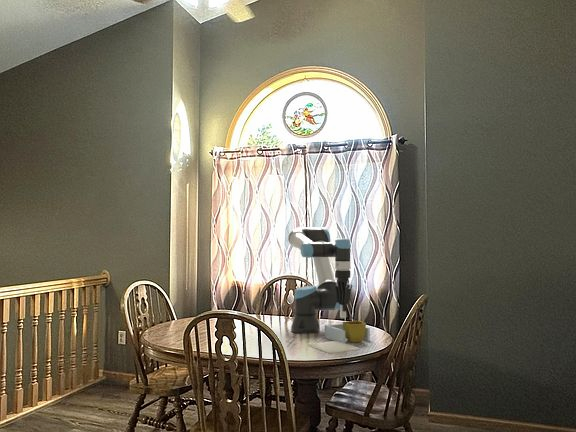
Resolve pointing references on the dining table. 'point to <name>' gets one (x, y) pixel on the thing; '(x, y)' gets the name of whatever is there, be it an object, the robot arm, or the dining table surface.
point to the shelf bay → (341, 333)
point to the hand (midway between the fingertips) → (343, 317)
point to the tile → (333, 347)
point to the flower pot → (354, 330)
